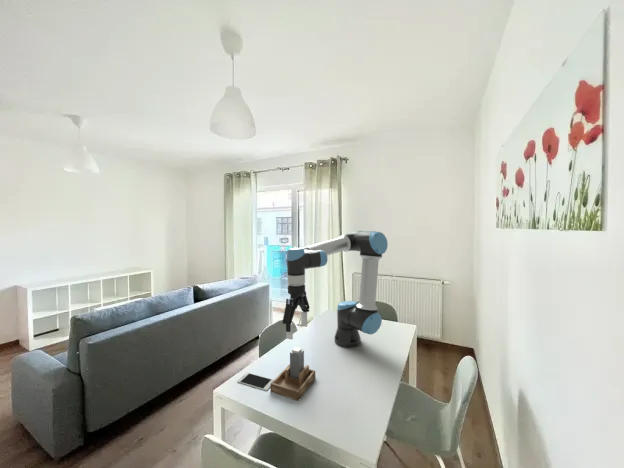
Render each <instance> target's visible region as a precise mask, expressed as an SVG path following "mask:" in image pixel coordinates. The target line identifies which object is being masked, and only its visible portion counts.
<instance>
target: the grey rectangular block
mask: <svg viewBox="0 0 624 468" xmlns="http://www.w3.org/2000/svg"><path fill="white" fill-rule="evenodd" d="M289 364H290V377H293V378H297V379H299V373H300V372H301V371H302V369H303V368H304V367H305V350H304V349H302V347H297V346H294V348H293V349H292V350H291V351H289Z"/></svg>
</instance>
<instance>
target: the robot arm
mask: <svg viewBox="0 0 624 468" xmlns="http://www.w3.org/2000/svg"><path fill="white" fill-rule="evenodd" d="M387 250H388V239H387V237H386V236H385V234H384V233H383V232H381V231H376V230H375V231H373V230H372V231H371V230H370V231H369V230H356V231H352V232H348V233H345V234H341V235H340V236H339V237H337V238H334V239H329V240H326V241H322V242H318V243H314V244H311V245H307V246H303V247H292V248H291V247H290V248H288V249H287V252H286V261H287V262H286V265H287V267H286V268H287V269H286V270H287V284H288V285H287V293H288V294H289V295H290V298H286V299H285V307H284V312H283V317H282V322H281V323H282V324H284V325H285V335H286V336H285V339H287V340H293V339H294V336H293V335H294V334H293V332H294V330H293V327H294V326H293V323H292V321H293V318H294V316H295V313H296V310H297V308H298V306H299V308H300V309H301V311H300V315H301V316H300V317H301V319H300V321H301V322H300V323H301V327H308V313H309V312H310V304H309V300H308V296H307V291H306V270H308V269H314V268H315V269H316V268H320V267H324V266H326V265H327V264H328V256H330V255H334V254H337V253H340V252H345V253H347V252H353V251H354V252H355V251H356V252H359V256H360V257H361V259H362V260H361V261H362V262H361V273H360V283H359V284H360V286H359V287H360V288H359V298H358V302H357V301H355V300H345V301H341V302H338V304H337V309H336V313H337V314H336V316H337V317H336V318H337V319H336V320H337V328H336V331H335V334H334V343H335V344H336V345H337V346H340V347H343V348H355V347H357V346H359V345H361V343H362V341H361V339H362V338H361V335H360V332H361V333H364V334H367V335H373V334H376V333H377V332H378V331H379V330H380V328H381V326H382V320H383V319H382V316H381V314H380V313H379V312H378V311H379V308H378V307H377V305H376V301H377V300H376V299H377V298H376V297H377V288H378V287H377V286H378V274H379V261H380V260H381V259H382V258H383V254H385V253H386V251H387ZM359 331H360V332H359Z"/></svg>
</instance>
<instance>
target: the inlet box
mask: <svg viewBox="0 0 624 468" xmlns="http://www.w3.org/2000/svg"><path fill="white" fill-rule="evenodd" d="M315 379H316V370H315V369H311V368H310V365H309V364H306V365H304V368H303V369H302V371H301V372H300V373H299V379H297V378H293V377H290V363H289V364H288V365H287V366H286V367H285V368H284V369H283V370H282V371H281V372H280V373H279V374H278V375H277V377H275V378H274V379H273V382H272V383H271V387H270V393H273V394H276V395H278V396H279V395H280V396H282V397H286V398H287V399H292V400H295V401H300V400H301V398H302V397H303V395H304V394H305V393H306V392H307V390H308V389H309V387H310V386H311V385H312V384H313V382H314V381H315Z"/></svg>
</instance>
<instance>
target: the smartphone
mask: <svg viewBox="0 0 624 468" xmlns="http://www.w3.org/2000/svg"><path fill="white" fill-rule="evenodd" d="M273 380H274V379H273V378H270V377H269V378H268V377H265V376H261V375H257V374H254V373H251V372H250V373H249V372H246V373H244V375H242V376H241V377H240V378H239V379H237V381H236V382H237V383H238V384H241V385H244V386H249V387H252V388H255V389H259V390H261V391H264V392H266V391H267V392H268V390H270V389H271V383H272V382H273Z"/></svg>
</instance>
